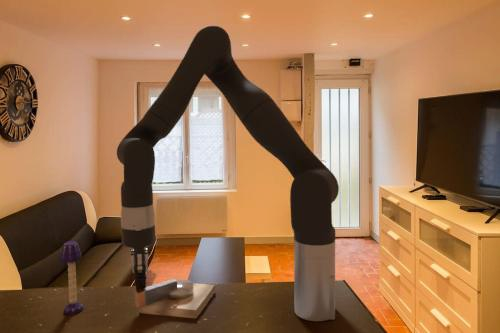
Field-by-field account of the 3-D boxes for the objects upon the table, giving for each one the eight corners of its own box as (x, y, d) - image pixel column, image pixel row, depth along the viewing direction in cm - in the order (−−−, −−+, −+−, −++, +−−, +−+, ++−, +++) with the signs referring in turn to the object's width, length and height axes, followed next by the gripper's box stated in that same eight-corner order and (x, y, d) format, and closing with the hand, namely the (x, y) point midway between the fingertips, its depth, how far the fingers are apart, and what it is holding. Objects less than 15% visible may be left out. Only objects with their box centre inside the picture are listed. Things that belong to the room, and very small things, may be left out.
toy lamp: (89, 307, 92) (85, 240, 90) (76, 316, 87) (71, 246, 86) (72, 305, 93) (68, 239, 91) (58, 314, 89) (53, 245, 87)
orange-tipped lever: (183, 284, 99) (183, 270, 98) (199, 293, 93) (198, 278, 93) (130, 302, 89) (129, 287, 88) (144, 313, 84) (143, 296, 83)
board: (215, 292, 99) (214, 283, 99) (196, 318, 86) (195, 308, 85) (165, 288, 102) (165, 279, 102) (139, 312, 89) (139, 303, 88)
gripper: (122, 218, 93) (125, 285, 95) (120, 233, 81) (123, 310, 83) (153, 215, 95) (156, 281, 97) (156, 230, 83) (158, 305, 85)
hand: (141, 294), depth 90 cm, fingers closed
